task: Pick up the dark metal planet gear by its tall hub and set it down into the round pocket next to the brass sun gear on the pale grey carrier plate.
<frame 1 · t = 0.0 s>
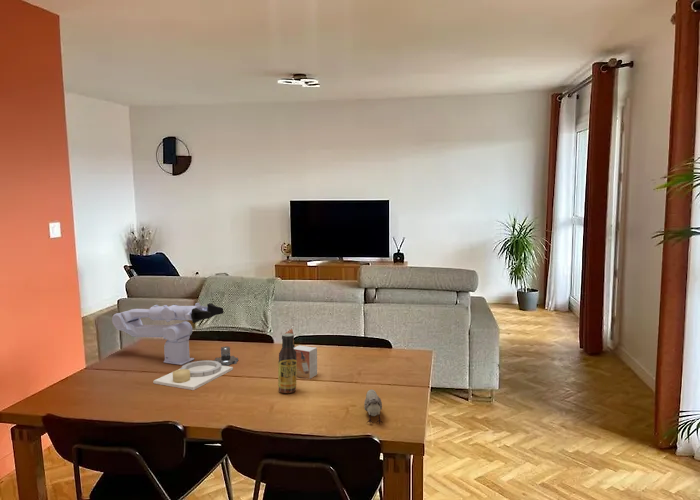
hand: (216, 312, 208), 22 cm above the table, tool horizontal, fingers open, 7 cm apart
ammunition clip: (288, 360, 219), on the table
small box: (304, 375, 200), on the table
planet gear: (226, 362, 216), on the table
decorative bird: (372, 415, 165), on the table
sauce bottle: (287, 391, 185), on the table
carrier plate: (194, 376, 200), on the table
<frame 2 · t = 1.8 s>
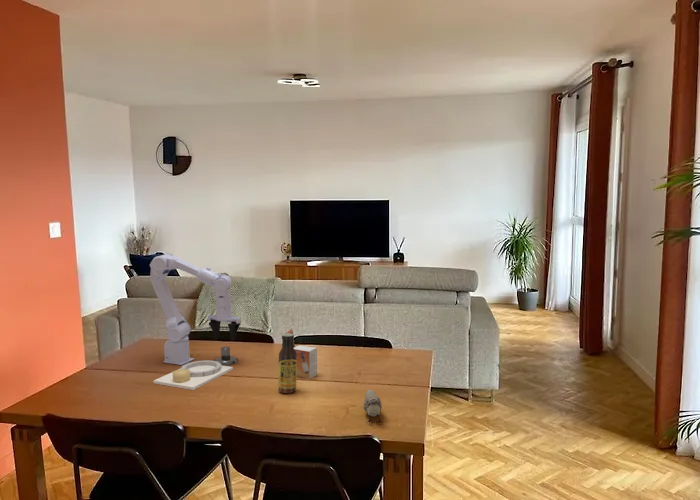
hand: (225, 339, 215), 9 cm above the table, tool pointing down, fingers open, 7 cm apart
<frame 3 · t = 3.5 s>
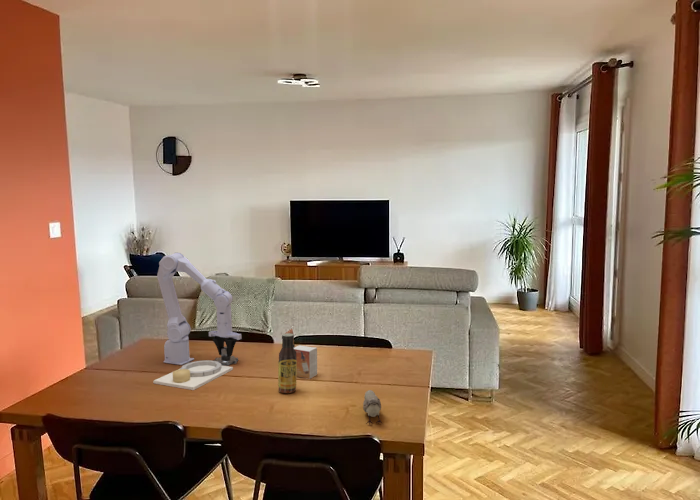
hand: (225, 355, 216), 3 cm above the table, tool pointing down, fingers closed on planet gear, 4 cm apart
planet gear: (226, 362, 216), on the table, touching gripper
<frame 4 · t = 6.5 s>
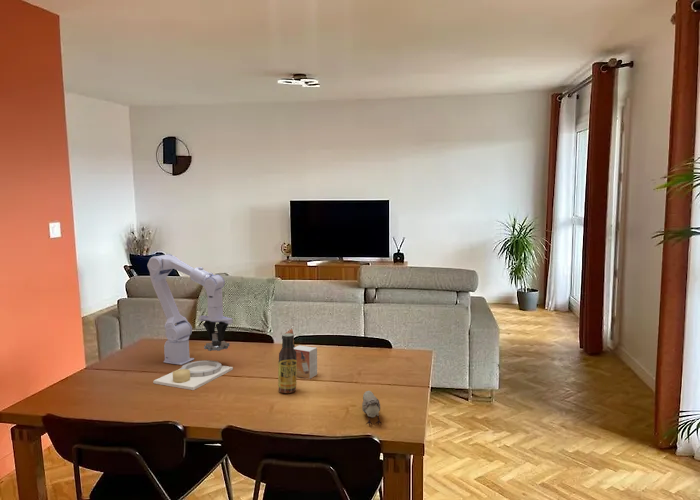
hand: (216, 340, 211), 10 cm above the table, tool pointing down, fingers closed on planet gear, 4 cm apart
planet gear: (216, 347, 211), point 7 cm above the table, touching gripper
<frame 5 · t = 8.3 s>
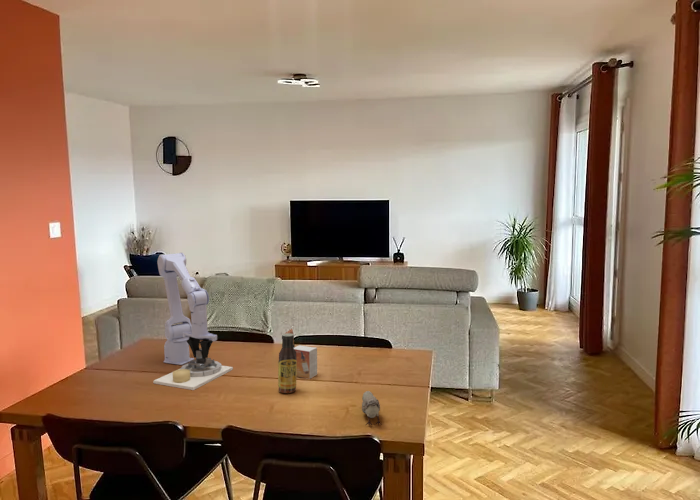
hand: (200, 357, 203), 6 cm above the table, tool pointing down, fingers closed on planet gear, 4 cm apart
planet gear: (201, 364, 204), point 3 cm above the table, touching gripper
when the fingers open (5 cm above the table, at t = 9.3 s): planet gear drops 1 cm, resting on carrier plate.
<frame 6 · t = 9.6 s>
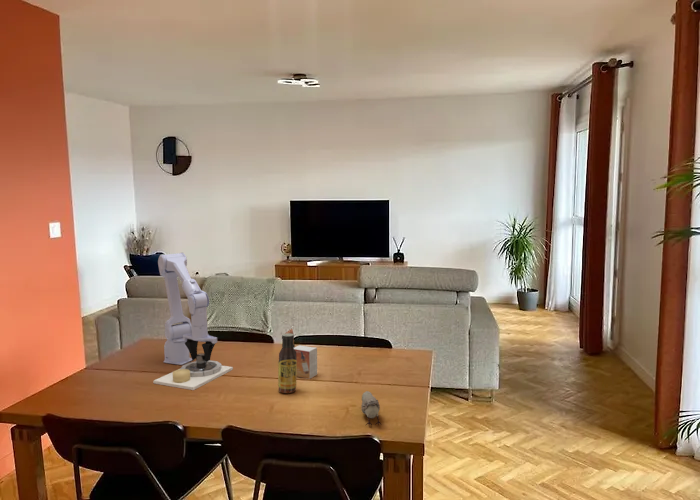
hand: (200, 359, 203), 5 cm above the table, tool pointing down, fingers open, 6 cm apart
planet gear: (201, 370, 204), point 1 cm above the table, touching carrier plate
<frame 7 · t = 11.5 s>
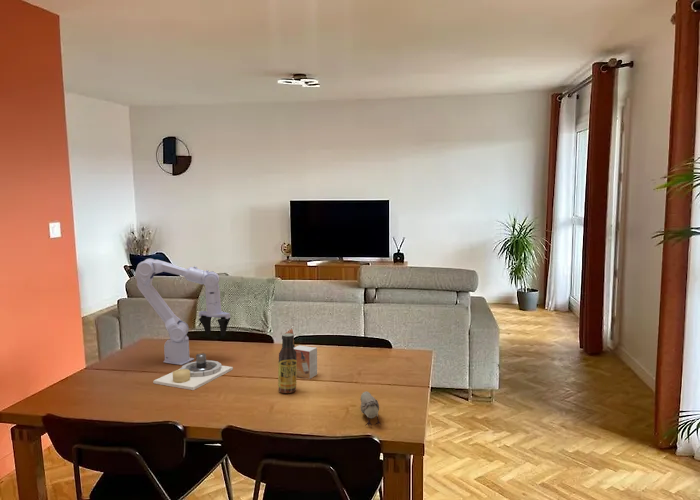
hand: (215, 334, 219), 10 cm above the table, tool pointing down, fingers open, 7 cm apart
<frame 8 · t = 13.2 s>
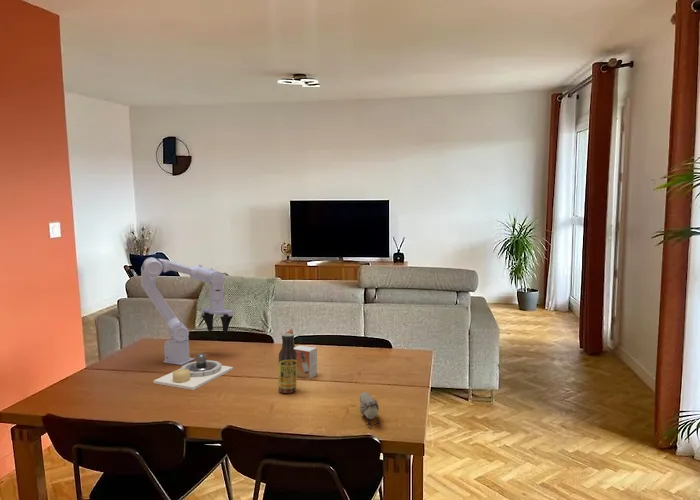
hand: (217, 331, 224), 10 cm above the table, tool pointing down, fingers open, 7 cm apart
at the end: planet gear 0.2 cm from the target spot on the carrier plate, point 1.0 cm above the carrier plate's base; planet gear tilted 0°; the gripper is holding nothing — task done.
